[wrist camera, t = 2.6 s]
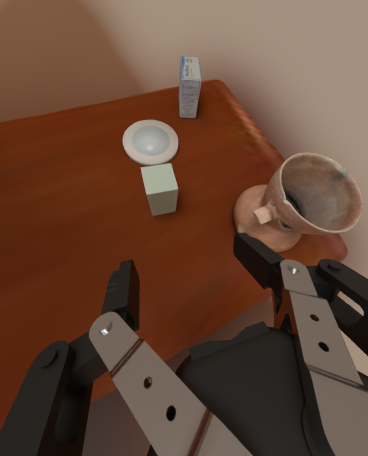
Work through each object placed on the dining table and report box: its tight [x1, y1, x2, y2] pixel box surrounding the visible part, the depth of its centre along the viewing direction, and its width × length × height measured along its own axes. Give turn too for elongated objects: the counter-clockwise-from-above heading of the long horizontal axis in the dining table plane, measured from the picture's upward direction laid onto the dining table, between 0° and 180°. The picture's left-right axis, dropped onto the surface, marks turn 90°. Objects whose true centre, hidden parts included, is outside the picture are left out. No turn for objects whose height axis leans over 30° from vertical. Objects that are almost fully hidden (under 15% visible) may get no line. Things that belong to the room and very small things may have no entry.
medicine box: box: [179, 56, 201, 118], centre depth 37 cm, size 8×4×9 cm, turn 2°
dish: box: [123, 120, 178, 166], centre depth 36 cm, size 13×13×1 cm
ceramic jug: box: [233, 153, 363, 253], centre depth 27 cm, size 18×14×14 cm
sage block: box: [141, 163, 178, 216], centre depth 28 cm, size 5×5×9 cm
